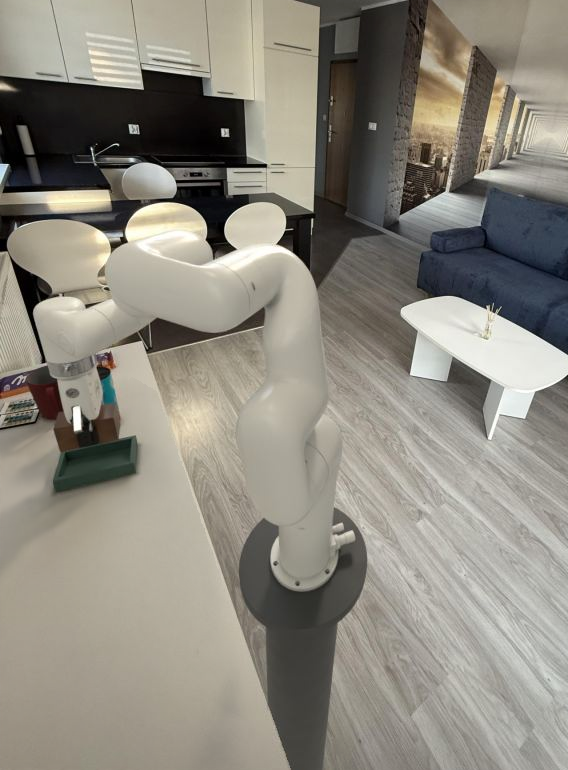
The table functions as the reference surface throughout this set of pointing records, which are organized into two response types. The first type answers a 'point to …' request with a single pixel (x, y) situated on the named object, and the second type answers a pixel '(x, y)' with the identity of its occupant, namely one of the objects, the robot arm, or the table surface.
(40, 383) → the mug
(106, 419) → the walnut box
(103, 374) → the beverage can
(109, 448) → the tray
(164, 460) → the table surface
